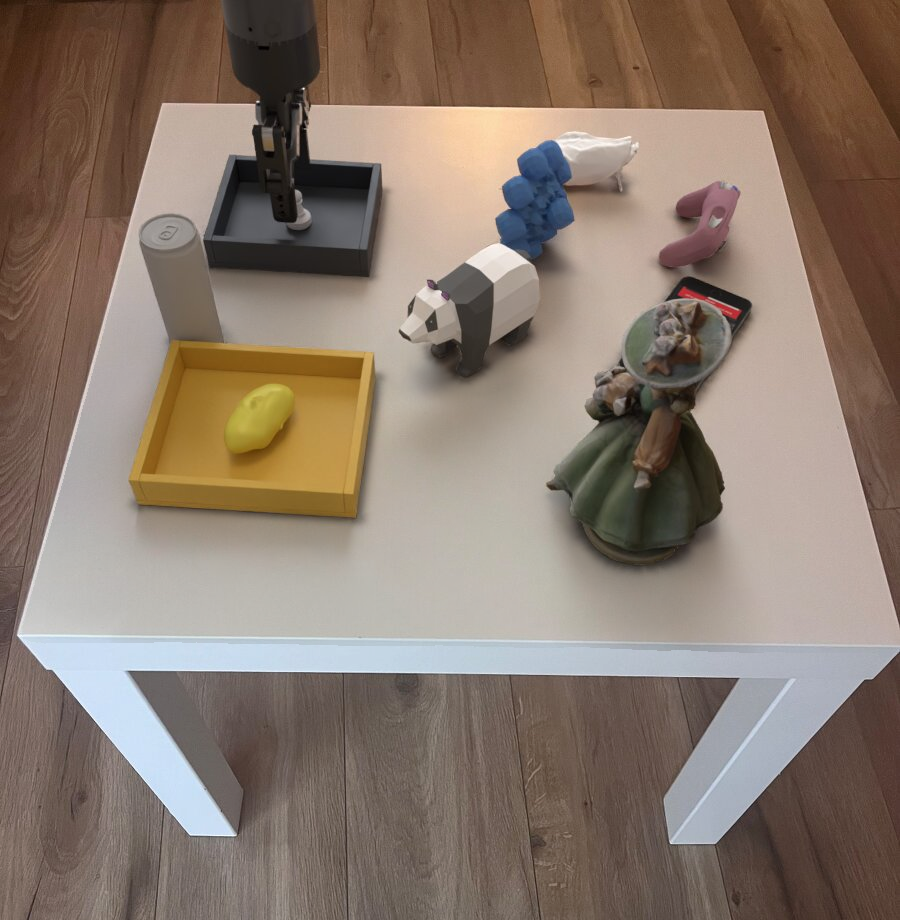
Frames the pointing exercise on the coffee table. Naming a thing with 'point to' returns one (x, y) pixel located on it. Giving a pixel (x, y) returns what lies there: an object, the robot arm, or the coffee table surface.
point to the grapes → (536, 200)
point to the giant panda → (476, 306)
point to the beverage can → (180, 278)
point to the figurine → (649, 438)
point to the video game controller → (703, 224)
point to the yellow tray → (285, 458)
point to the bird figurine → (595, 156)
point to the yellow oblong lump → (258, 418)
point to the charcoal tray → (305, 251)
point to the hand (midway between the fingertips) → (292, 192)
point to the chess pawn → (300, 215)
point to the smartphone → (711, 302)
